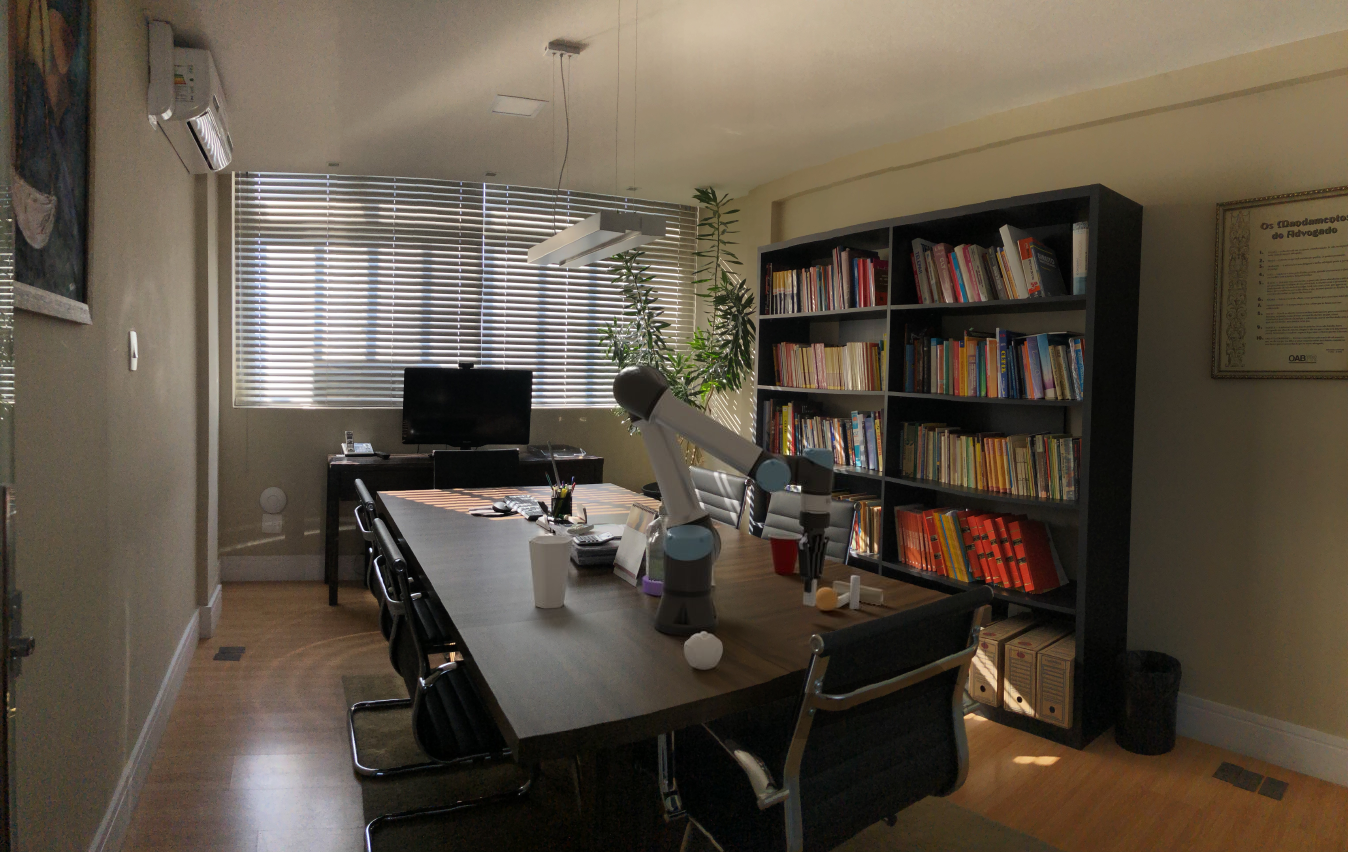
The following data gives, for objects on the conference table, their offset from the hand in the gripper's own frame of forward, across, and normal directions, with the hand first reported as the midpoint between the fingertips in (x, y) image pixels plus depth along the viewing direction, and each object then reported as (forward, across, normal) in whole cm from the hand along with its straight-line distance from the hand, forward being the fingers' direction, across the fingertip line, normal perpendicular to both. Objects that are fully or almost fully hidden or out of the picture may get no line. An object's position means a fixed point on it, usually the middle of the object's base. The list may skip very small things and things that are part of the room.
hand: (809, 604), depth 200 cm
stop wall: (+4, +26, -1) cm, 27 cm away
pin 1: (+3, +16, 0) cm, 16 cm away
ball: (+1, +11, +1) cm, 11 cm away
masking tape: (+5, -3, +44) cm, 44 cm away
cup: (+6, -35, +56) cm, 66 cm away
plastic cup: (+4, +40, +30) cm, 50 cm away
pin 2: (+4, +18, -4) cm, 19 cm away
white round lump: (+5, -45, -1) cm, 45 cm away
